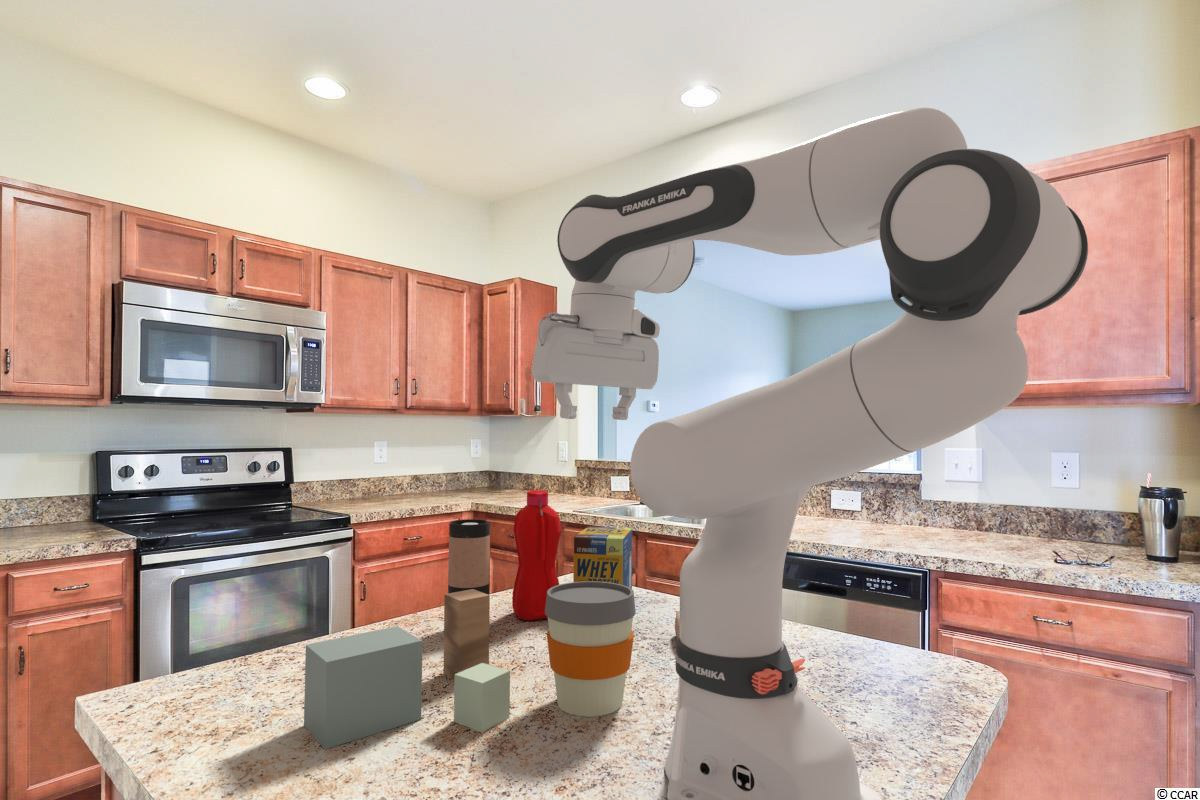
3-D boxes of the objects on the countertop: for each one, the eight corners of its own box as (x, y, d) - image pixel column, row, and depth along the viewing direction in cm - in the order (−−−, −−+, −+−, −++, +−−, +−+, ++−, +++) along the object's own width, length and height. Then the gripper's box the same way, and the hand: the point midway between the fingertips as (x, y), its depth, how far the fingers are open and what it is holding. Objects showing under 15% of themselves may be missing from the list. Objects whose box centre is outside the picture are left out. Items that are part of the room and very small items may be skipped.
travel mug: (439, 634, 117) (441, 523, 118) (460, 622, 124) (461, 518, 125) (477, 638, 115) (478, 525, 116) (496, 625, 122) (497, 520, 123)
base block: (421, 719, 83) (422, 640, 83) (324, 749, 75) (326, 662, 75) (395, 699, 89) (396, 626, 89) (303, 725, 81) (305, 644, 81)
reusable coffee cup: (651, 695, 90) (651, 587, 91) (606, 731, 80) (607, 608, 80) (576, 677, 97) (576, 577, 97) (525, 708, 86) (526, 595, 87)
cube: (509, 717, 84) (510, 670, 84) (482, 732, 79) (482, 683, 80) (481, 708, 86) (482, 662, 87) (453, 722, 82) (454, 674, 82)
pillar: (488, 674, 98) (489, 595, 98) (459, 683, 95) (460, 600, 95) (472, 665, 102) (473, 589, 102) (443, 673, 98) (444, 594, 99)
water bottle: (520, 626, 122) (521, 494, 123) (509, 610, 132) (510, 489, 134) (567, 621, 125) (567, 492, 126) (553, 607, 135) (554, 487, 137)
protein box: (572, 613, 131) (572, 536, 132) (587, 594, 146) (587, 525, 147) (623, 616, 129) (623, 538, 130) (633, 596, 144) (633, 527, 145)
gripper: (554, 309, 80) (547, 419, 80) (668, 327, 93) (661, 422, 93) (526, 311, 85) (519, 415, 85) (638, 328, 98) (631, 418, 98)
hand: (594, 419), depth 89 cm, fingers open, 8 cm apart
